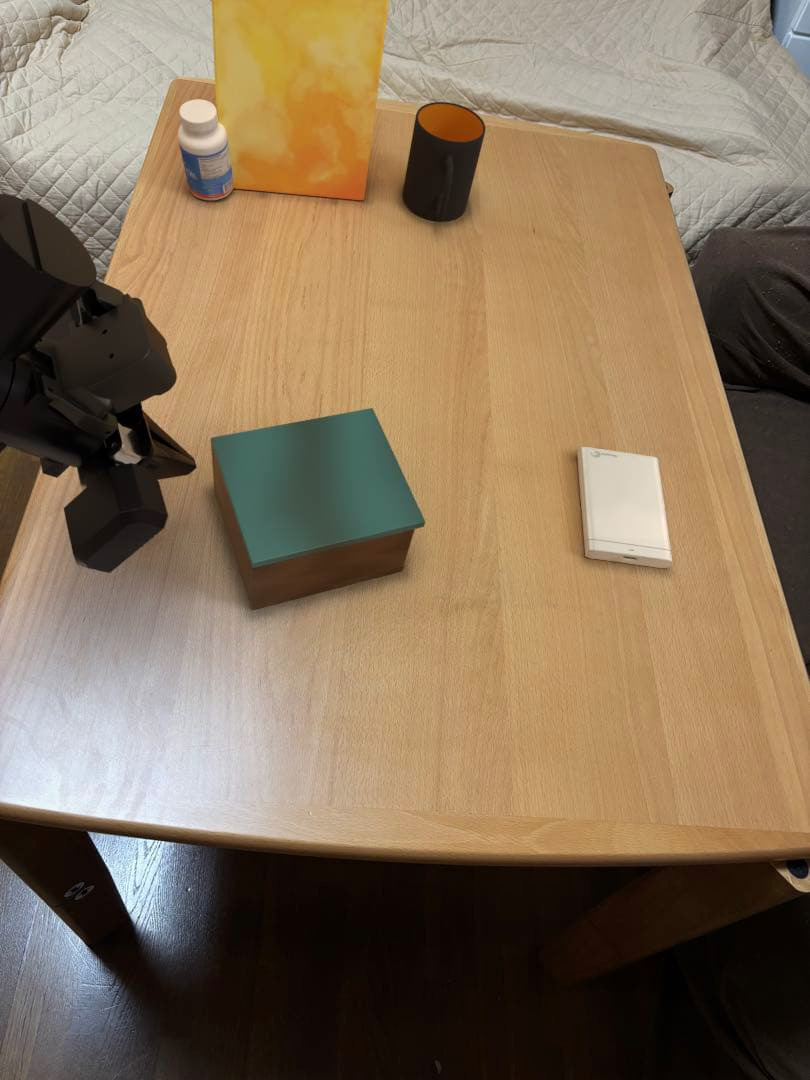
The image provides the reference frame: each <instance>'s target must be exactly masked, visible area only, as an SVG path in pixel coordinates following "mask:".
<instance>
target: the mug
mask: <svg viewBox="0 0 810 1080" xmlns="http://www.w3.org/2000/svg"><path fill="white" fill-rule="evenodd" d="M485 134H486V124H485V122H484V120H483V119H482V117H481V116H479V115H478V114H477V113H476V112H475V111H474V110H472V109H470V108H468V107H466V106H464V105H460V104H457V103H454V102H449V101H448V102H447V101H434V102H430V103H426V104H424V105H422V106H421V107H419V108H418V110H417V111H416V113H415V120H414V124H413V130H412V135H411V141H410V142H411V143H410V147H409V152H408V158H407V163H406V164H407V165H406V170H405V177H404V184H403V188H402V195H401V196H402V202H403V203H404V206H405V207H406V208H407V209H408V211H410V212H412V213H413V214H414V215H416V216H417V217H420V218H422V219H425V220H429V221H433V222H450V221H454V220H456V219H459V218H460V217H462V216H463V215H464V213H465V211H466V210H467V206H468V202H469V199H470V194H471V190H472V187H473V182H474V178H475V175H476V174H475V173H476V170H477V167H478V162H479V158H480V155H481V150H482V146H483V142H484V139H485Z"/></svg>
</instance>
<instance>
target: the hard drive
mask: <svg viewBox="0 0 810 1080" xmlns="http://www.w3.org/2000/svg"><path fill="white" fill-rule="evenodd" d="M576 456H577V457H576V458H577V469H578V470H577V471H578V472H577V473H578V484H579V496H580V506H581V507H580V508H581V521H582V532H583V543H584V544H583V545H584V547H583V548H584V557H586V558H588V559H594V560H600V561H606V562H607V561H608V562H614V563H623V564H629V565H637V566H643V567H650V568H657V569H668V568H669V567H670V566H671V565H672V564H673V555H672V548H671V541H670V536H669V527H668V520H667V513H666V506H665V499H664V494H663V493H664V492H663V486H662V478H661V472H660V465H659V459H658V458H657V457H656V456H652V455H644V454H639V453H631V452H624V451H619V450H618V451H617V450H612V449H603V448H596V447H590V446H581V447H580V448H579V450H578V451H577V453H576Z"/></svg>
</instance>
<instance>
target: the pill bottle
mask: <svg viewBox="0 0 810 1080" xmlns="http://www.w3.org/2000/svg"><path fill="white" fill-rule="evenodd" d="M178 110H179V111H178V112H179V119H180V126H179V127H178V130H177V139H178V140H177V141H178V145H179V151H180V154H181V159H182V164H183V168H184V174H185V178H186V182H187V187H188V189H189V192H190V193H191V194H192V195H193V196H194V197H196V198H198V199H200V200H203V201H217V200H218V201H219V200H222V199H224V198H225V197H227V196H228V195H230V194H231V193H232V191H233V186H234V179H233V173H232V167H231V160H230V153H229V146H228V139H227V133H226V130H225V128H224V126H223V125H222V124H220V123H218V115H217V110H216V105H215V104H213V103H212V102H210V101H209V100H206V99H199V98H197V99H191V100H188V101H186V102H184V103H183V104H181V106H180V107H179V109H178Z"/></svg>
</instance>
